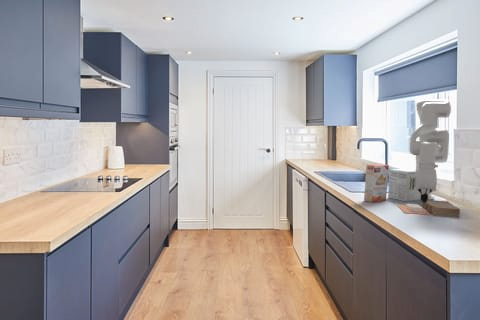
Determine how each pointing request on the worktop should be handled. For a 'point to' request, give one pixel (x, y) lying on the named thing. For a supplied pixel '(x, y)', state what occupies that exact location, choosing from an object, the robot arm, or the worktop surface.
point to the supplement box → (402, 185)
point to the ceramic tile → (414, 207)
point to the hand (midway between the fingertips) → (424, 201)
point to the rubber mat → (405, 210)
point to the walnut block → (441, 208)
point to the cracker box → (376, 182)
